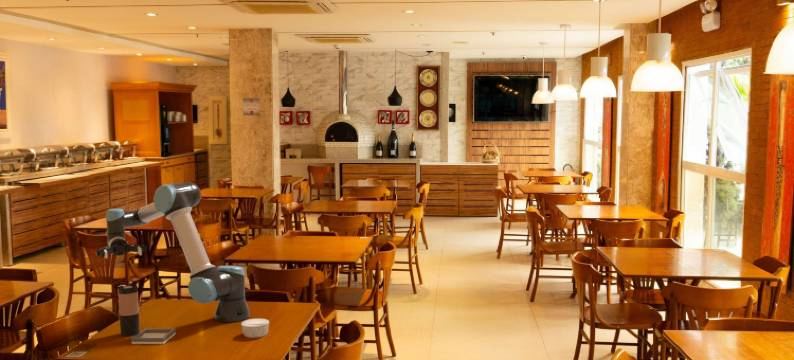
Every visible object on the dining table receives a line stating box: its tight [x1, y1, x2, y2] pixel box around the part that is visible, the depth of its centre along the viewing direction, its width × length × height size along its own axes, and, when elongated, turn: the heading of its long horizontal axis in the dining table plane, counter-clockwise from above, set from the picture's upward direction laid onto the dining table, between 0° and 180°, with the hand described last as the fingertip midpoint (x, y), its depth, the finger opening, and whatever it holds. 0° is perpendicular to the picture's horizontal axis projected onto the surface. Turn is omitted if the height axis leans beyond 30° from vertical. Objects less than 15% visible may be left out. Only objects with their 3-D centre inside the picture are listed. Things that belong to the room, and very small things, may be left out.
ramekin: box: [240, 318, 270, 339], centre depth 297 cm, size 11×11×5 cm
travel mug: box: [117, 283, 140, 337], centre depth 301 cm, size 8×8×20 cm
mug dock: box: [130, 328, 177, 345], centre depth 294 cm, size 13×13×2 cm
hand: (123, 253), depth 308 cm, fingers open, 13 cm apart
